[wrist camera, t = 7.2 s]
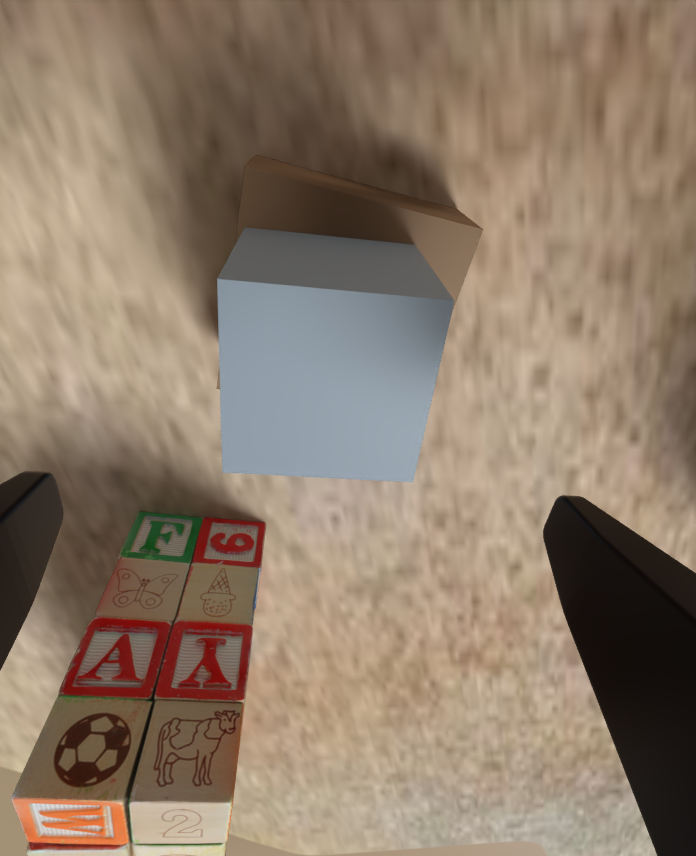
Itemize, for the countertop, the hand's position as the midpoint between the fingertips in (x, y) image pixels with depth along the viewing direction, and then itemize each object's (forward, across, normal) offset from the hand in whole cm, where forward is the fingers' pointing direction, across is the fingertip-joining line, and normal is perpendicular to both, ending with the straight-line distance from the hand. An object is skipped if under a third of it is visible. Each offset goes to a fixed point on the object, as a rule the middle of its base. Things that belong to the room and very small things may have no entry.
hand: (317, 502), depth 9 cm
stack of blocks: (+12, +5, +22) cm, 26 cm away
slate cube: (+8, 0, 0) cm, 9 cm away
